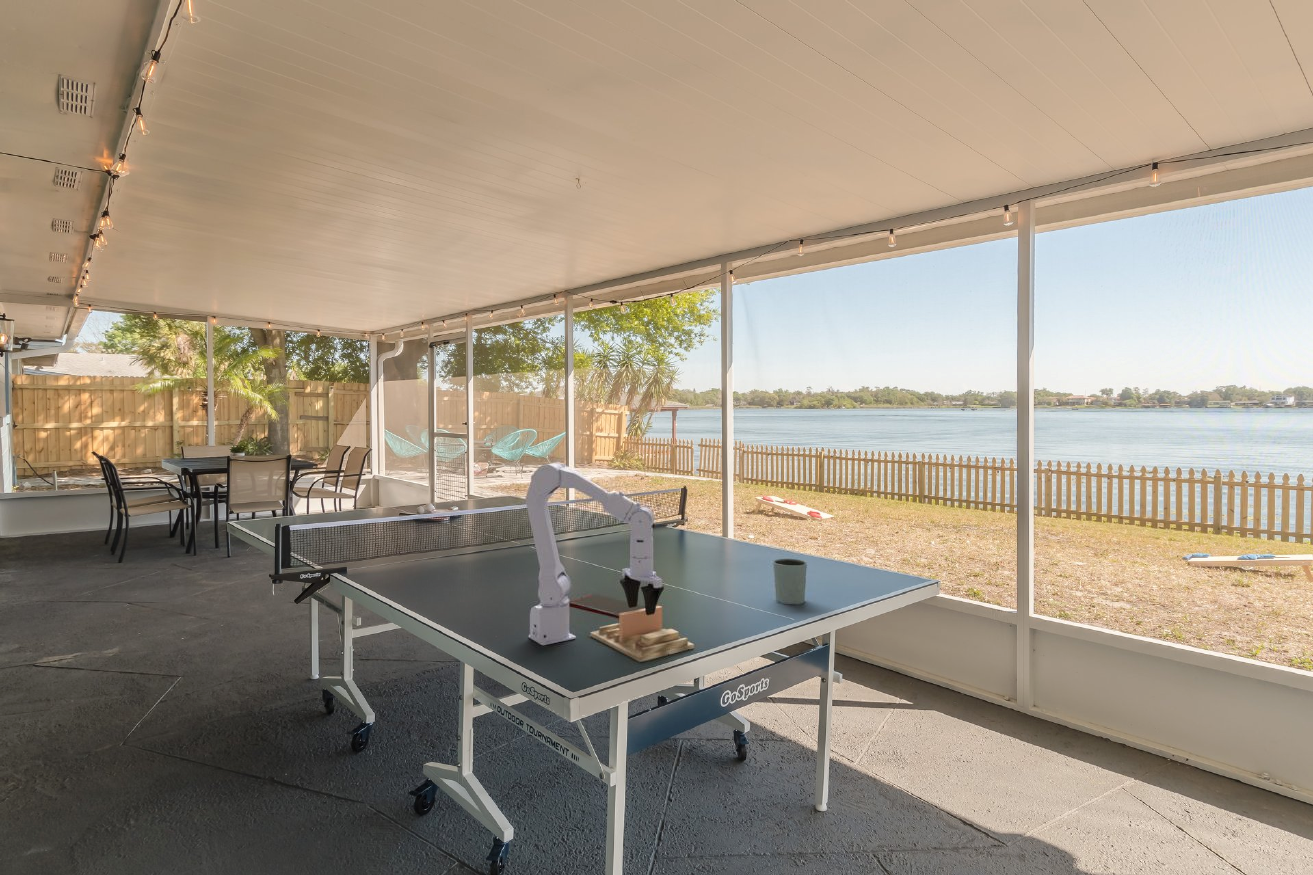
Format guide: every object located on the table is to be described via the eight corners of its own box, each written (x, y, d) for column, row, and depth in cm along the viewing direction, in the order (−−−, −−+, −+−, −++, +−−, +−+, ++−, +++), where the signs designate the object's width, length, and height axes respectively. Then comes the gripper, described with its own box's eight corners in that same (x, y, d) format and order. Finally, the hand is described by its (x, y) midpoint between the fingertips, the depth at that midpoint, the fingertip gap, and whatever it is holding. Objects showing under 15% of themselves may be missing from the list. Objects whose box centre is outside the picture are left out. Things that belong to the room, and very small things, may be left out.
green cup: (806, 606, 203) (807, 566, 202) (771, 604, 205) (772, 564, 204) (805, 597, 213) (806, 559, 212) (773, 595, 215) (773, 557, 214)
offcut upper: (648, 645, 160) (648, 638, 160) (641, 641, 163) (641, 635, 162) (678, 637, 165) (678, 631, 165) (671, 634, 168) (671, 628, 168)
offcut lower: (643, 652, 159) (643, 646, 159) (635, 648, 162) (635, 642, 162) (680, 643, 166) (680, 637, 166) (672, 639, 168) (672, 633, 168)
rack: (639, 661, 156) (639, 651, 156) (590, 636, 174) (590, 626, 174) (693, 648, 166) (693, 638, 165) (641, 624, 183) (641, 615, 183)
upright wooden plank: (622, 643, 165) (622, 614, 165) (618, 641, 167) (619, 613, 166) (661, 634, 173) (662, 606, 172) (658, 632, 174) (658, 605, 174)
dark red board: (631, 618, 186) (566, 601, 202) (631, 624, 187) (566, 606, 202) (658, 608, 196) (594, 592, 211) (658, 613, 196) (594, 597, 211)
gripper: (672, 559, 165) (671, 614, 166) (638, 549, 177) (637, 601, 178) (648, 562, 161) (648, 619, 162) (615, 552, 173) (615, 605, 173)
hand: (641, 610), depth 169 cm, fingers open, 7 cm apart
